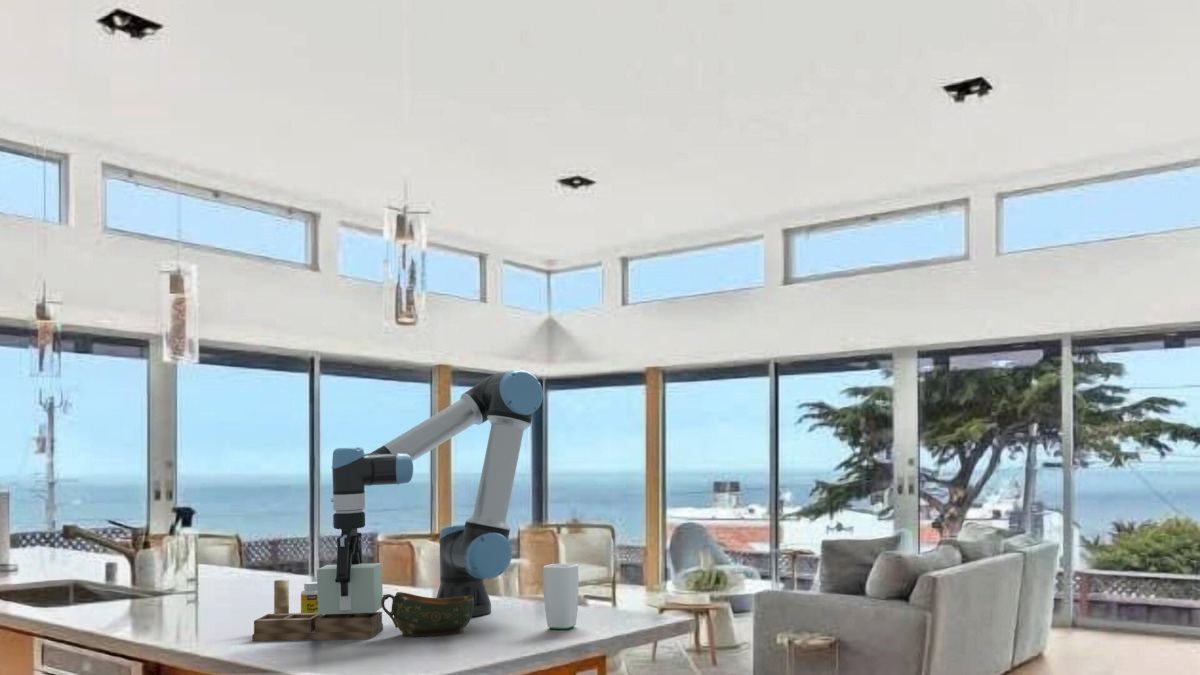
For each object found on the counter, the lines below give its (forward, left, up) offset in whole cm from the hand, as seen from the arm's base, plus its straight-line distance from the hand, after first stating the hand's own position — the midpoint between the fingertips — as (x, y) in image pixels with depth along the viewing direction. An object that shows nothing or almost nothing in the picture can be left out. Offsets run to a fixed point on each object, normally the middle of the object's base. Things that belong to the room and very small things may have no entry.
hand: (350, 606), depth 259 cm
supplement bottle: (+15, -18, -7) cm, 24 cm away
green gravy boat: (-19, +1, -7) cm, 20 cm away
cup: (-50, -3, -7) cm, 51 cm away
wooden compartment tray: (+8, 0, -6) cm, 10 cm away
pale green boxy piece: (0, 0, -1) cm, 1 cm away
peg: (+20, -9, -6) cm, 22 cm away
